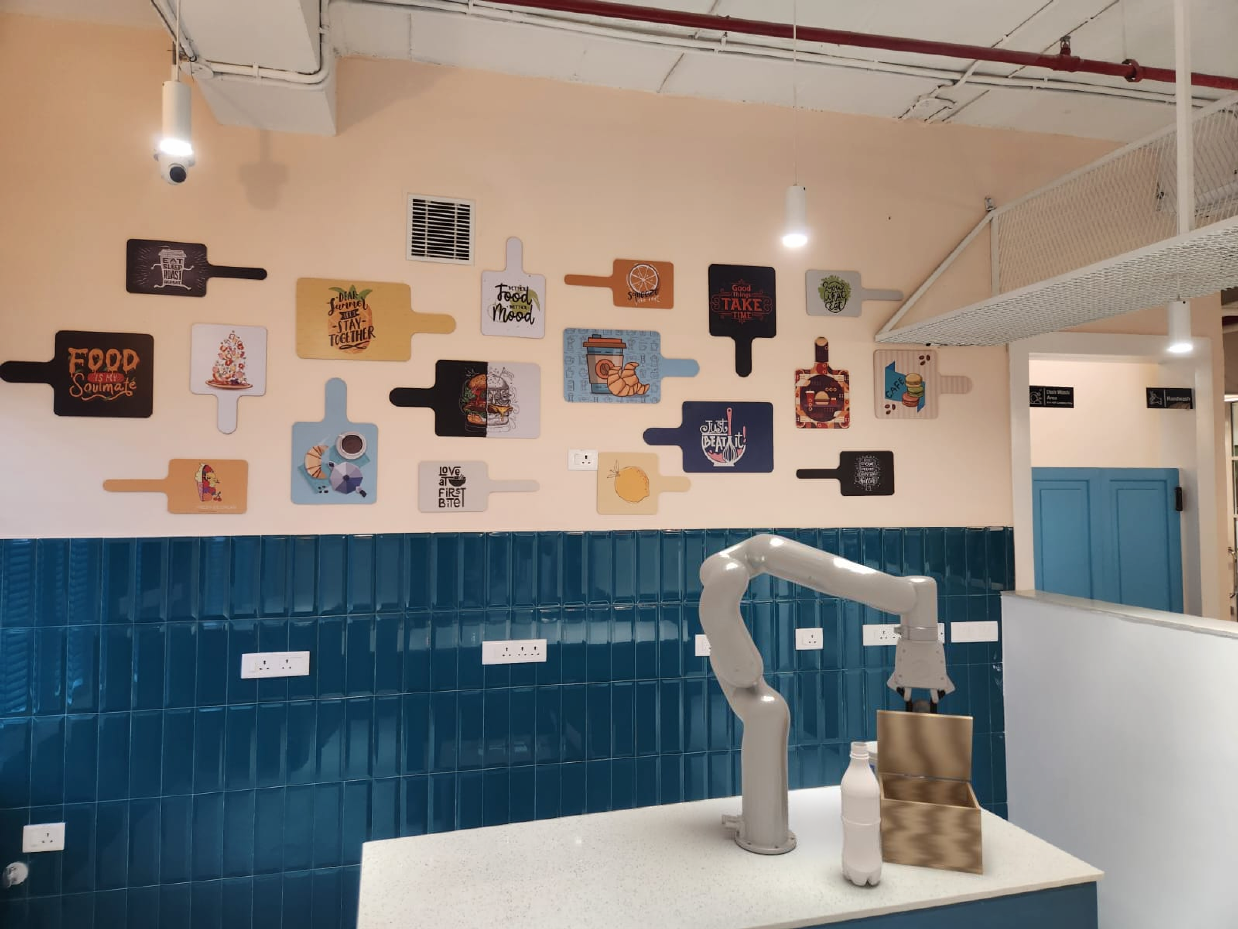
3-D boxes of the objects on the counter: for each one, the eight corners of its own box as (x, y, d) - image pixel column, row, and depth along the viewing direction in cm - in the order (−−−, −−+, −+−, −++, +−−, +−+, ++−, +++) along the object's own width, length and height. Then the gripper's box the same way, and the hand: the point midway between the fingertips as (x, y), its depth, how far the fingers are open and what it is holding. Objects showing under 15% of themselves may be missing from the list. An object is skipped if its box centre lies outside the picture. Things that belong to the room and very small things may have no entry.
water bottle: (884, 891, 138) (881, 751, 139) (843, 887, 139) (841, 749, 140) (879, 872, 145) (876, 739, 146) (840, 868, 146) (838, 737, 147)
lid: (877, 712, 159) (875, 690, 166) (877, 772, 164) (876, 748, 171) (972, 719, 154) (967, 696, 161) (970, 780, 158) (965, 755, 165)
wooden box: (882, 861, 149) (881, 799, 149) (879, 829, 163) (878, 773, 164) (982, 874, 144) (981, 810, 144) (970, 840, 158) (969, 781, 159)
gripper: (879, 634, 163) (881, 721, 162) (963, 638, 158) (965, 727, 157) (878, 629, 170) (880, 711, 169) (958, 632, 165) (960, 717, 164)
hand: (921, 718), depth 163 cm, fingers closed on lid, 3 cm apart
